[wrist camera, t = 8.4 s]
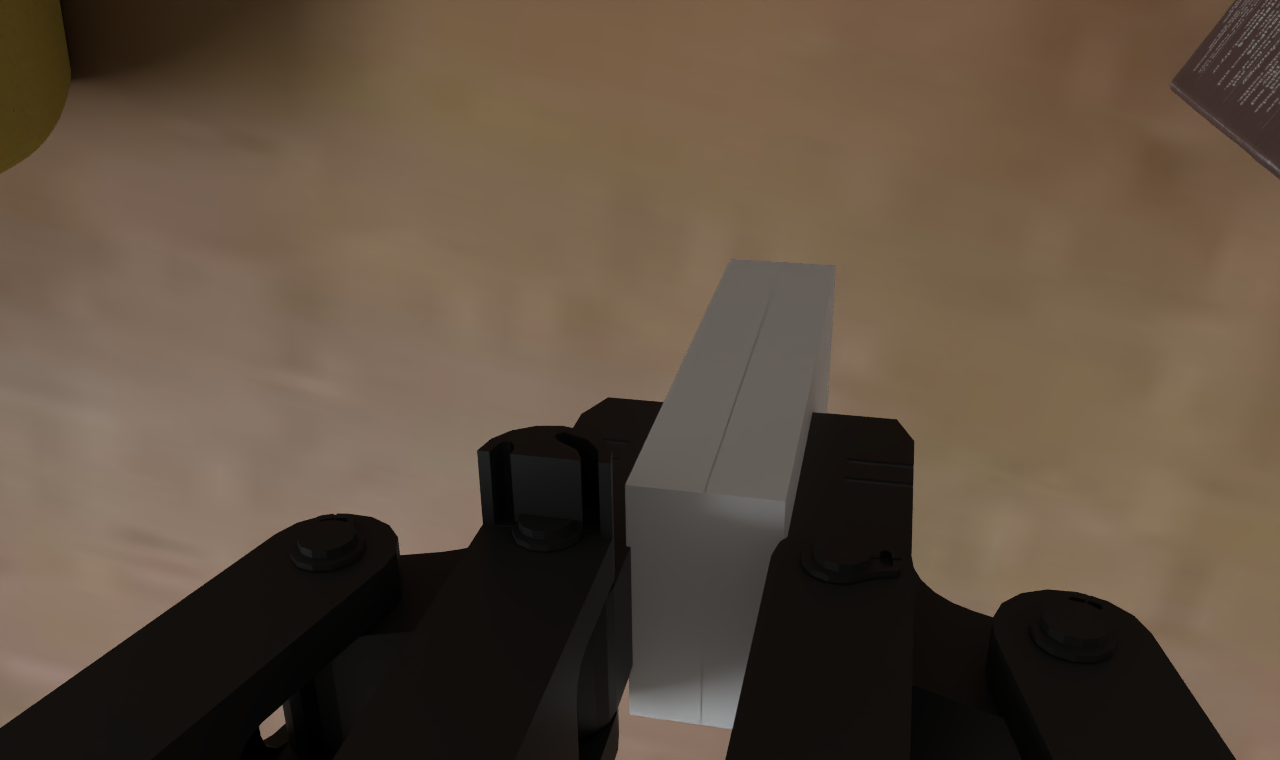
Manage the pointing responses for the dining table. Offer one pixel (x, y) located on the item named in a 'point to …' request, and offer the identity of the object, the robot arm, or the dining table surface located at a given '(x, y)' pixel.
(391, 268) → the dining table surface
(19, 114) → the flower pot
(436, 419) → the dining table surface
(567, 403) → the dining table surface
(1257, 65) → the box
